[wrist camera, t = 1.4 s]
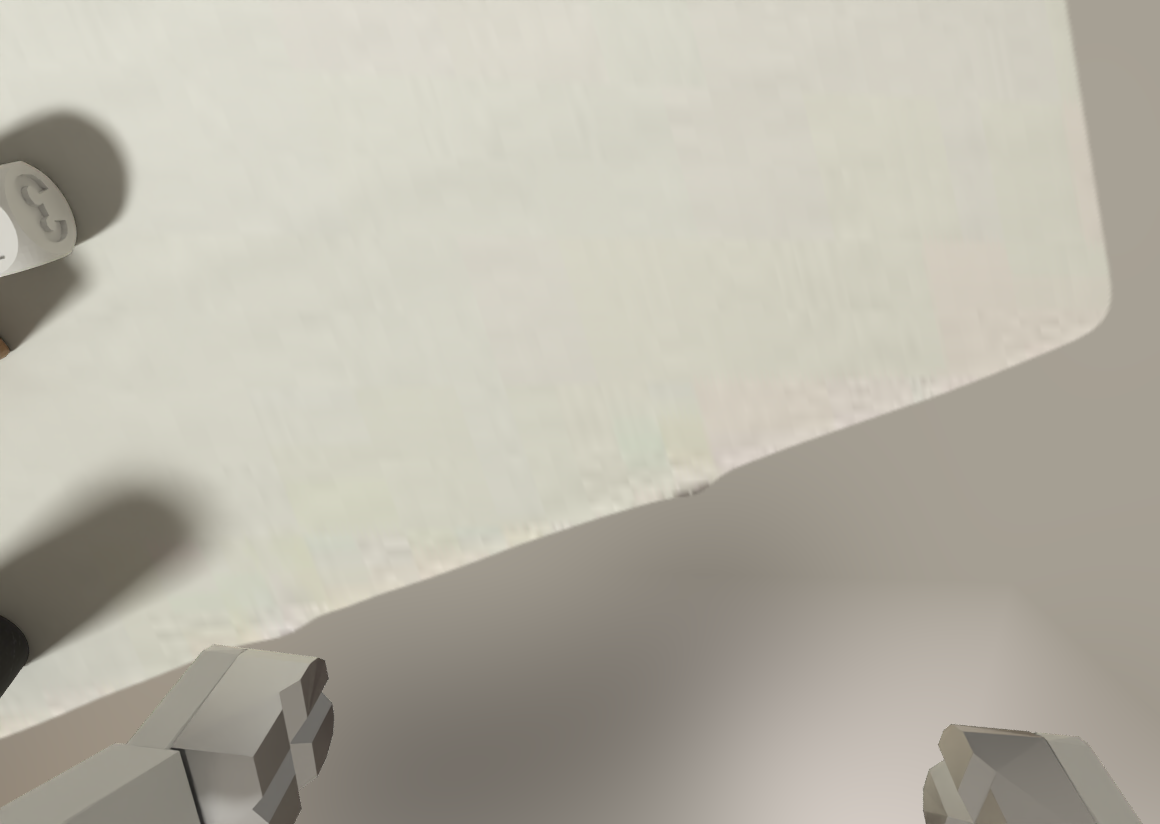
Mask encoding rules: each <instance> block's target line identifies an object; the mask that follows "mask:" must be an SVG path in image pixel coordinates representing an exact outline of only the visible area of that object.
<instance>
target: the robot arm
mask: <svg viewBox="0 0 1160 824" xmlns="http://www.w3.org/2000/svg"><path fill="white" fill-rule="evenodd" d="M328 679H329V677H328V672H327V667H326V663H325V660H323V659H320V658H318V657H310V656H303V655H295V654H288V653H280V652H273V651H265V650H258V649H251V648H249V649H246V648H238V647H231V646H223V645H216V644H214V645H212V646H211V647H209V648H207V649H205V650H204V651H202V652H201V653H200V654H199V656H198V657H197V658H196V659H195V661H194V662H193V663H192V664H191V665H190V667H189V668H188V669H187V671H186V672H185V673H184V674H183V675H182V676H181V678H180V679H179V680H178V681H177V683H176V684H175V685H174V686H173V688H172V689H171V690H170V691H169V692H168V694H167V695H166V696H165V697H164V698H163V700H162V701H161V702H160V703H159V705H158V706H157V707H156V708H155V710H154V711H153V712H152V713H151V714H150V716H149V717H148V718H147V719H146V720H145V722H144V723H143V724H142V725H141V727H140V728H139V729H138V730H137V731H136V733H135V734H134V735H133V736H132V738H131V739H130V740H129V741H128V742H127V744H120V743H114V744H112V745H111V746H109V747H107V748H105V749H103V750H102V751H100V752H98V753H97V754H95V755H93V756H91V757H90V758H88V759H86V760H84V761H82V762H80V763H79V764H77V765H75V766H73V767H72V768H70V769H68V770H66V771H65V772H63V773H61V774H59V775H57V776H56V777H54V778H52V779H50V780H49V781H47V782H45V783H43V784H42V785H40V786H38V787H36V788H34V789H33V790H31V791H29V792H27V793H26V794H24V795H22V796H20V797H19V798H17V799H15V800H14V801H11V802H10V803H8V804H6V805H4V806H3V807H1V808H0V824H294V823H295V821H296V819H297V817H298V815H299V813H300V811H301V809H302V807H301V802H300V796H299V790H300V789H302V788H303V787H304V786H306V785H307V784H308V783H310V782H311V781H313V780H314V779H315V778H317V777H318V774H319V772H320V770H321V768H322V766H323V764H324V762H325V760H326V758H327V754H328V751H329V747H330V743H331V740H332V736H333V728H334V711H333V704H332V702H331V701H330V700H329V699H328V698H327V697H326V696H325V695H324V694H323V693H322V690H323V688H324V686H325V685H326V683H327V680H328ZM938 746H939V748H940V751H941V753H942V755H943V758H944V760H943V761H941V762H940V763H938V764H937V765H935V766H934V767H932V768H931V769H929V771H928V775H927V778H926V781H925V784H924V788H923V812H924V817H925V822H926V824H1142V822H1141V821H1140V819H1139V818H1138V816H1137V815H1136V813H1135V812H1134V810H1133V809H1132V807H1131V806H1130V804H1129V803H1128V801H1127V800H1126V798H1125V797H1124V796H1123V794H1122V792H1121V791H1120V789H1119V788H1118V787H1117V785H1116V784H1115V782H1114V781H1113V779H1112V778H1111V776H1110V775H1109V773H1108V772H1107V770H1106V769H1105V767H1104V766H1103V764H1102V763H1101V761H1100V760H1099V758H1098V757H1097V755H1096V754H1095V752H1094V751H1093V750H1092V748H1091V747H1090V745H1089V744H1088V743H1086V742H1085V741H1084V740H1082V739H1081V738H1080V737H1077V736H1067V735H1057V734H1047V733H1037V732H1036V733H1031V732H1029V731H1019V730H1008V729H997V728H987V727H976V726H966V725H955V724H951V725H949V726H948V727H947V728H946V729H945V730H944V731H943V734H942V736H941V738H940V741H939V744H938Z"/></svg>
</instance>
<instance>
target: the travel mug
mask: <svg viewBox="0 0 1160 824" xmlns="http://www.w3.org/2000/svg"><path fill="white" fill-rule="evenodd" d="M28 654H29V647H28V643H27V640H26V638H25V636H24V635H23V633H22V632H21V631H20V630H19V629H18V628H17V627H16V626H15V625H14V624H13V623H11V622H10V621H8V620H7V619H5V618H3V617H2V616H0V698H1V696H2V695H3V694H4V692H5V691H6V689H7V688H8V687H9V685H10V684H11V683H12V681H13V680H14V678H15V677H16V676H17V674H18V673H19V671H20V670H21V669H22V667H23V666H24V664H25V663H26V660H27V658H28Z"/></svg>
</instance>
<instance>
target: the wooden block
mask: <svg viewBox="0 0 1160 824" xmlns="http://www.w3.org/2000/svg"><path fill="white" fill-rule="evenodd" d="M9 352H10V350H9V347H8V346H7V345H6V344H5V343H4V341H3V340H2V339H1V338H0V360H1V359H3V358H4V357H6V356H7V355H8V353H9Z"/></svg>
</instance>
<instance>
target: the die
mask: <svg viewBox="0 0 1160 824" xmlns="http://www.w3.org/2000/svg"><path fill="white" fill-rule="evenodd" d="M76 236H77V232H76V224H75V220H74V217H73V214H72V211H71V209H70V207H69V204H68V203H67V201H66V199H65V197H64V196H63V194H62V193H61V191H60V190H59V189H58V187H57V186H56V185H55V184H54V183H53V182H52V181H51V180H50V179H49V178H48V177H47V176H46V175H45V174H44V173H42V172H41V171H39V170H38V169H36V168H34V167H33V166H31V165H29V164H27V163H25V162H23V161H16V162H11V163H7V164H2V165H0V277H2V276H6V275H10V274H14V273H17V272H21V271H24V270H28V269H31V268H34V267H38V266H41V265H44V264H47V263H50V262H52V261H55V260H58V259H61V258H63V257H65V256H68V255H69V254H71V253H72V251H73V248H74V245H75V242H76Z"/></svg>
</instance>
